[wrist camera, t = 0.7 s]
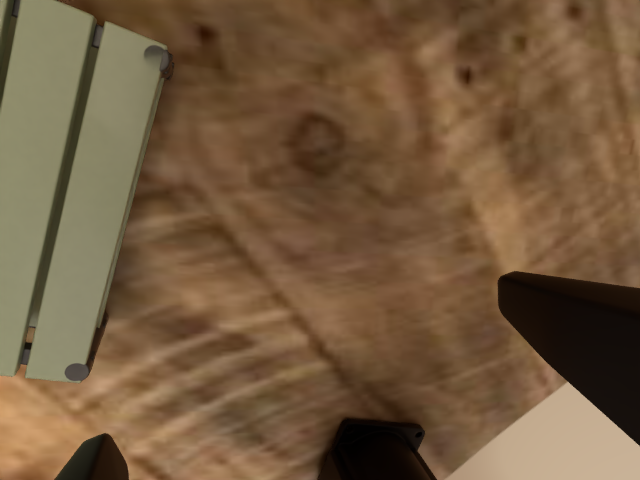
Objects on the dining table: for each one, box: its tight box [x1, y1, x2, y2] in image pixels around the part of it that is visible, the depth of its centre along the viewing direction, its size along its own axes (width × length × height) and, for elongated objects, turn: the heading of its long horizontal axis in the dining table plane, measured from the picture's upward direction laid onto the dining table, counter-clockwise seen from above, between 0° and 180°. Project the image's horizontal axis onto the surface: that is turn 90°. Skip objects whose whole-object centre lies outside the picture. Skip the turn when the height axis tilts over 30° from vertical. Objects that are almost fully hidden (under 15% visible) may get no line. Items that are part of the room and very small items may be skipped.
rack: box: [0, 0, 174, 383], centre depth 15 cm, size 9×13×4 cm
